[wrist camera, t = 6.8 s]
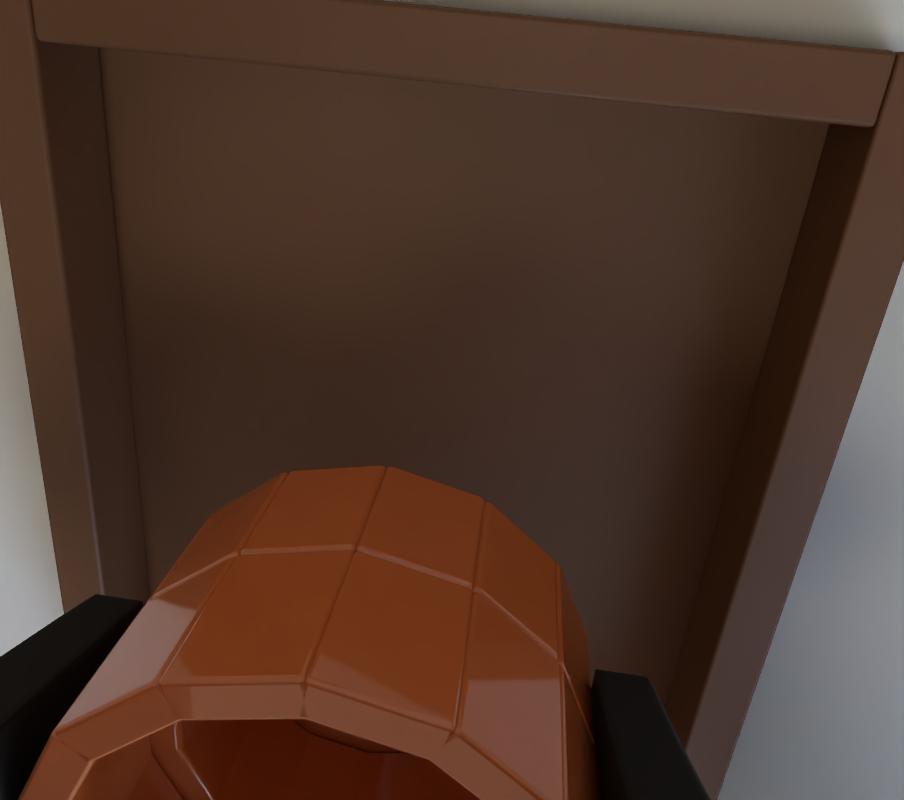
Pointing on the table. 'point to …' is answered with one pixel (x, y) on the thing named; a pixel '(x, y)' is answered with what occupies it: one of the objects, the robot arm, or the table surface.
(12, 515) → the table surface
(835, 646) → the table surface
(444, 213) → the tray
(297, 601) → the flower pot
